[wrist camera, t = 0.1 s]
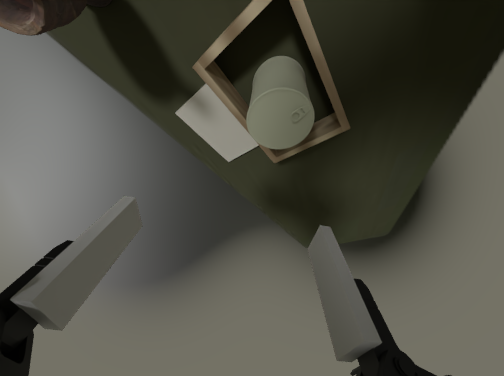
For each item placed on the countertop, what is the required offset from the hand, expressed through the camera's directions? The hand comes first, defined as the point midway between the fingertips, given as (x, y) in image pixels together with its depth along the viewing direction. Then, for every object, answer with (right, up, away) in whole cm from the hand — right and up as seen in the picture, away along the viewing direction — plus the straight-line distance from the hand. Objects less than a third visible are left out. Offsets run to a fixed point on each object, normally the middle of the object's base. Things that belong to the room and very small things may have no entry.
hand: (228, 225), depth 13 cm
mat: (-5, +16, +25) cm, 30 cm away
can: (+6, +21, +18) cm, 28 cm away
